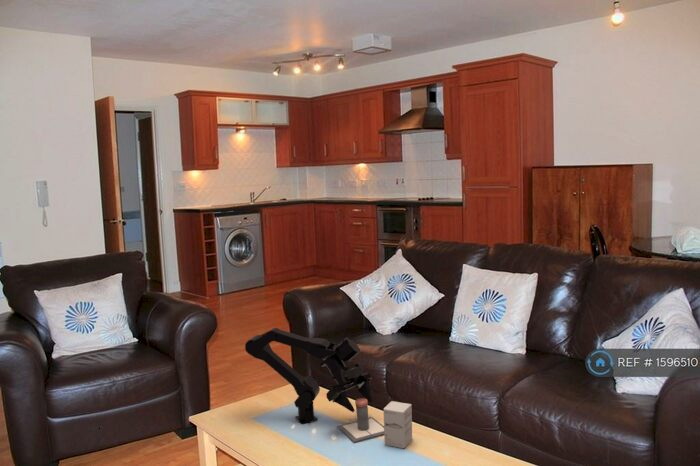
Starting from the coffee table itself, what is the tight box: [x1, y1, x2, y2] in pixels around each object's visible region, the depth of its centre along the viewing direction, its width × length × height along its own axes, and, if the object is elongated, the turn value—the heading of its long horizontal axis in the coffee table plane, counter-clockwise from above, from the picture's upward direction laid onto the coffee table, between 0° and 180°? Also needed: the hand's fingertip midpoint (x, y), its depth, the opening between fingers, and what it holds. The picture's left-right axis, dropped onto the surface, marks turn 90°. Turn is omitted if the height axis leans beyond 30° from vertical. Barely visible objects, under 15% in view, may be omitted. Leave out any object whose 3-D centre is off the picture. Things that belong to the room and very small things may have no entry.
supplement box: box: [383, 400, 413, 449], centre depth 196 cm, size 7×7×13 cm
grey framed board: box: [336, 416, 384, 444], centre depth 206 cm, size 14×14×1 cm
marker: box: [354, 397, 370, 431], centre depth 206 cm, size 4×4×10 cm
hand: (362, 407), depth 205 cm, fingers open, 9 cm apart
